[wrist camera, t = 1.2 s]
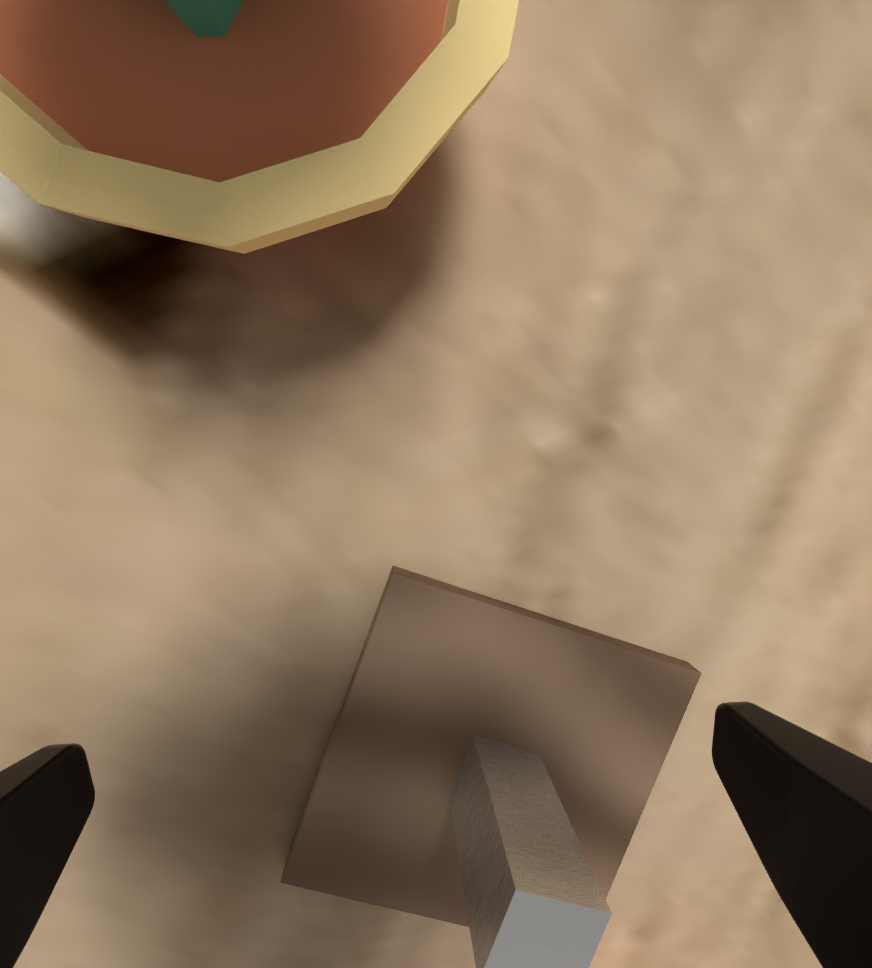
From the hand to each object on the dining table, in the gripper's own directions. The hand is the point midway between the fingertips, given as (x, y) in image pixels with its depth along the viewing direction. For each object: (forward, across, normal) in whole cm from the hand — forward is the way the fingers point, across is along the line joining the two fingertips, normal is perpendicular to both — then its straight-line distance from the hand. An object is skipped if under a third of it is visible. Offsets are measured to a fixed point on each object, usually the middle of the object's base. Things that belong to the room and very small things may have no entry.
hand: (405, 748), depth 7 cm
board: (+13, -3, +12) cm, 18 cm away
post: (+12, -3, +12) cm, 17 cm away
